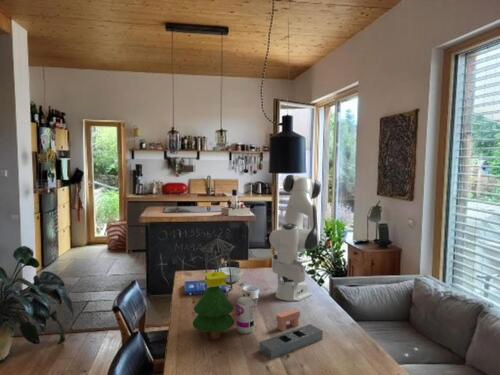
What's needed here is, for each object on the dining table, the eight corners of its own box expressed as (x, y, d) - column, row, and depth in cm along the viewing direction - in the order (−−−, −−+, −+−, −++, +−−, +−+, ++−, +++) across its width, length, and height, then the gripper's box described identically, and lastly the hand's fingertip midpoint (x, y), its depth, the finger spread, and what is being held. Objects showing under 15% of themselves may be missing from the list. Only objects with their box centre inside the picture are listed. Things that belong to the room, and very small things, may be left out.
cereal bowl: (241, 285, 236) (241, 274, 235) (215, 285, 236) (215, 274, 235) (242, 277, 252) (242, 266, 252) (218, 276, 253) (218, 266, 252)
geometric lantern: (221, 304, 205) (220, 242, 202) (199, 299, 213) (198, 239, 210) (237, 295, 218) (236, 237, 215) (216, 290, 227) (214, 234, 224)
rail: (309, 332, 174) (310, 324, 173) (322, 339, 167) (322, 330, 167) (259, 351, 156) (259, 342, 156) (270, 359, 150) (271, 350, 149)
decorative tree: (188, 329, 175) (188, 267, 172) (226, 323, 182) (227, 263, 180) (198, 349, 157) (198, 280, 155) (240, 341, 164) (240, 275, 162)
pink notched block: (294, 322, 184) (294, 308, 183) (299, 325, 181) (299, 311, 180) (276, 328, 177) (276, 314, 176) (280, 331, 174) (281, 317, 173)
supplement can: (241, 335, 170) (241, 304, 168) (233, 328, 177) (234, 297, 176) (256, 331, 173) (257, 301, 172) (248, 324, 181) (249, 295, 179)
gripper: (308, 262, 170) (307, 291, 171) (280, 252, 186) (279, 279, 187) (298, 264, 166) (297, 294, 167) (270, 254, 183) (269, 281, 184)
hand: (287, 286), depth 177 cm, fingers open, 8 cm apart
